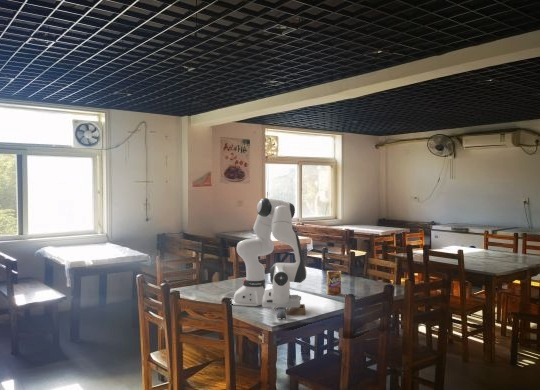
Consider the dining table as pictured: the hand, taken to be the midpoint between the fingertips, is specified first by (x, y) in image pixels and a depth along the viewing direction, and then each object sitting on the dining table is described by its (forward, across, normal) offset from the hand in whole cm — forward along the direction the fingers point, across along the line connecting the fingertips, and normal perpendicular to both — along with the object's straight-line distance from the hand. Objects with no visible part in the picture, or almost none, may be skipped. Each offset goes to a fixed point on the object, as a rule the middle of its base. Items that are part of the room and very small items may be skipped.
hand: (281, 309), depth 252 cm
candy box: (+44, -34, -37) cm, 67 cm away
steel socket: (+3, 0, +4) cm, 4 cm away
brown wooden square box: (+10, -8, -4) cm, 14 cm away
